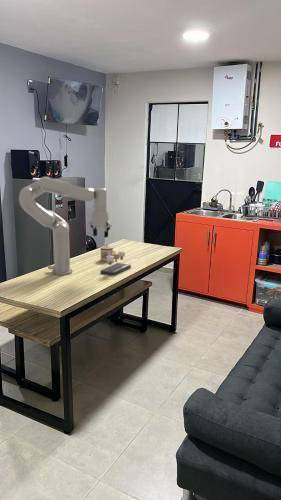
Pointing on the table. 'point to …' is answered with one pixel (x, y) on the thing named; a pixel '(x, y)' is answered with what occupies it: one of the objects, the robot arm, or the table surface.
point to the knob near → (110, 259)
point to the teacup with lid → (106, 252)
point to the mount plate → (115, 269)
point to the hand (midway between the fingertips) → (100, 236)
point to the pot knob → (116, 256)
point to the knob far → (121, 254)
